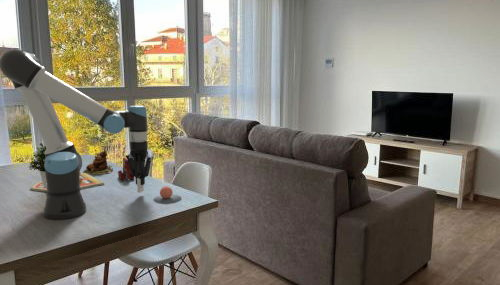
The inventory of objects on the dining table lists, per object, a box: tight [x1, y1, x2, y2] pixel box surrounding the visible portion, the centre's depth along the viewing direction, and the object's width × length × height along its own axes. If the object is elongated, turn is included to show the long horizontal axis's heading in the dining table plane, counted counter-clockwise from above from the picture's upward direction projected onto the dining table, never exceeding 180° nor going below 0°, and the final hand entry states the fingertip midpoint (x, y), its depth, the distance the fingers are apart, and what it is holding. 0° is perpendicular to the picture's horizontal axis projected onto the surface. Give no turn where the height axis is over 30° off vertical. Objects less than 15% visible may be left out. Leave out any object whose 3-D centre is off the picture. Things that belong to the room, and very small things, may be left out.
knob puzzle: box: [30, 171, 105, 193], centre depth 186 cm, size 29×30×4 cm
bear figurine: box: [82, 149, 114, 176], centre depth 210 cm, size 14×15×12 cm
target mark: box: [153, 193, 182, 204], centre depth 167 cm, size 12×12×1 cm
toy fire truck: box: [117, 157, 135, 182], centre depth 197 cm, size 7×12×10 cm, turn 27°
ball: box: [159, 185, 173, 199], centre depth 167 cm, size 6×6×6 cm
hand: (140, 191), depth 171 cm, fingers closed
